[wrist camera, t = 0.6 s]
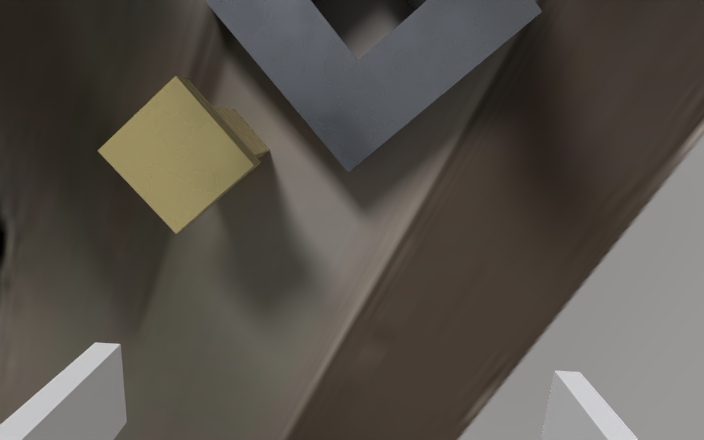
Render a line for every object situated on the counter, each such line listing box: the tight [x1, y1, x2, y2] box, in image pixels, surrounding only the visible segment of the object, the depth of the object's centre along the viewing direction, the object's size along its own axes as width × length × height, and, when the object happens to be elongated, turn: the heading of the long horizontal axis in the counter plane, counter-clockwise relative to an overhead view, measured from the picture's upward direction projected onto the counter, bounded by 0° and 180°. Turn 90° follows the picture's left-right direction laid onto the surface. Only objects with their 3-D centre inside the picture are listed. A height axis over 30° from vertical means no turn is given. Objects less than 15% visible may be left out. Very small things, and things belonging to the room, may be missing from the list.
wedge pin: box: [98, 76, 269, 234], centre depth 28 cm, size 6×6×11 cm
